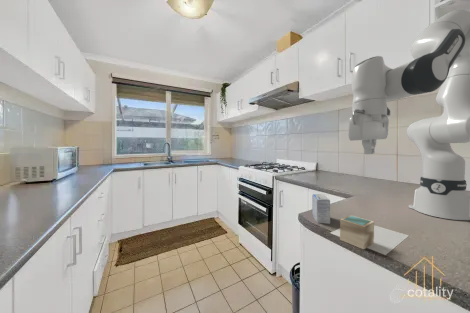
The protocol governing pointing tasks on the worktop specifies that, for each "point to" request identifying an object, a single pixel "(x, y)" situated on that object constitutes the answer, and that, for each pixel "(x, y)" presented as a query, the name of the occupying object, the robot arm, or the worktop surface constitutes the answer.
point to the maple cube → (357, 231)
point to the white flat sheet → (382, 239)
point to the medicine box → (321, 208)
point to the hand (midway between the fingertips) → (369, 154)
